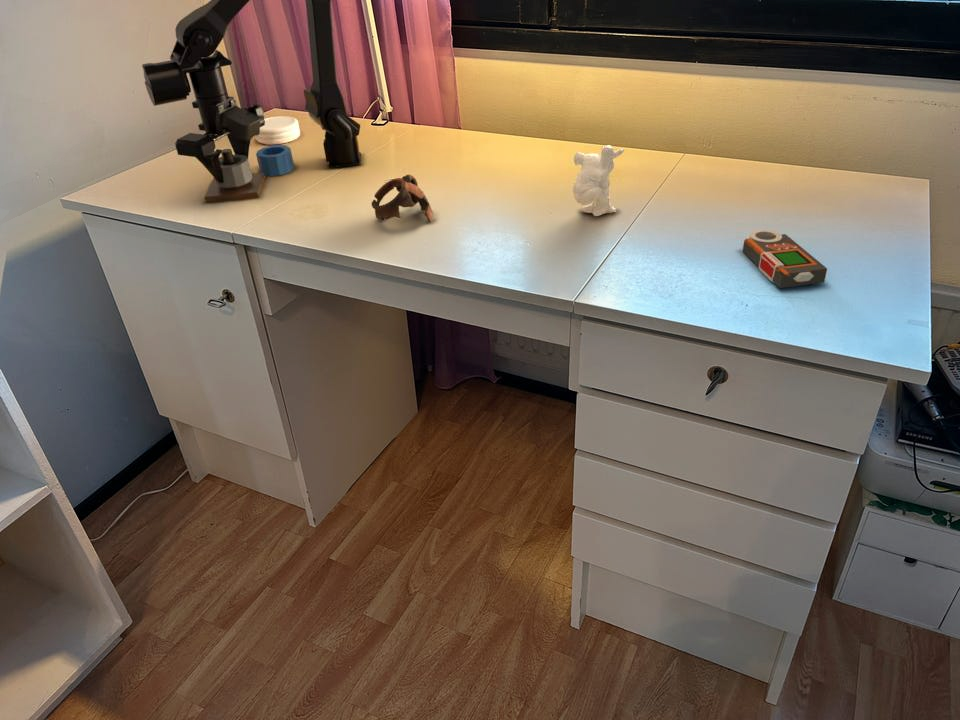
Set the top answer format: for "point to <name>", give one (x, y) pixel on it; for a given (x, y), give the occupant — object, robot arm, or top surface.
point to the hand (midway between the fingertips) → (233, 175)
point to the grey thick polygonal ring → (235, 172)
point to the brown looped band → (401, 198)
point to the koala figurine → (595, 180)
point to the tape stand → (234, 193)
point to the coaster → (278, 130)
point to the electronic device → (783, 259)
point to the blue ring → (275, 160)
